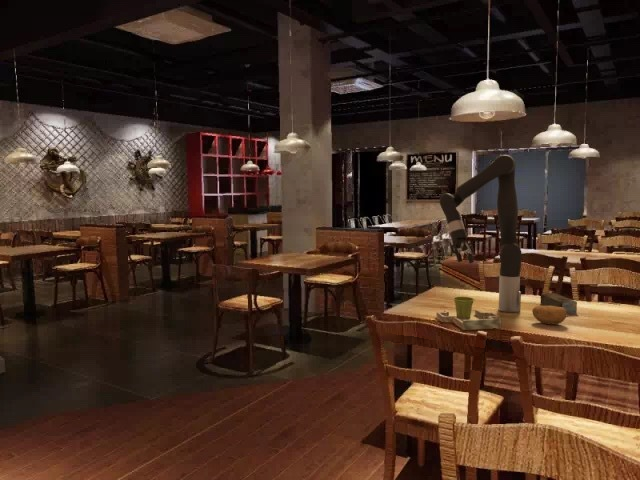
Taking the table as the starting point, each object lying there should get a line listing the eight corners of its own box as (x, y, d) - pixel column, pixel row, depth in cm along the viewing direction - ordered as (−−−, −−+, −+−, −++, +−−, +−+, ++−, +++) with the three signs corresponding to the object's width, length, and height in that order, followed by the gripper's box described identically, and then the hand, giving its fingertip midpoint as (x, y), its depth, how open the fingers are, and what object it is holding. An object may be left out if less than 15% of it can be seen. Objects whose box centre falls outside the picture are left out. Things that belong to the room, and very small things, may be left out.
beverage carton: (561, 314, 241) (562, 300, 240) (539, 305, 260) (539, 292, 259) (577, 314, 242) (577, 300, 241) (553, 304, 261) (554, 292, 260)
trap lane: (486, 314, 242) (486, 305, 241) (510, 327, 219) (510, 318, 218) (434, 316, 239) (434, 307, 238) (453, 330, 216) (453, 321, 215)
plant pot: (454, 319, 233) (454, 300, 232) (451, 314, 242) (452, 296, 241) (475, 319, 232) (475, 301, 231) (472, 314, 241) (472, 296, 240)
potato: (533, 319, 232) (533, 302, 231) (567, 323, 225) (567, 305, 225) (530, 324, 224) (530, 306, 223) (565, 328, 217) (566, 310, 216)
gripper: (453, 226, 243) (462, 258, 237) (472, 229, 251) (481, 260, 246) (442, 233, 248) (450, 264, 243) (460, 235, 257) (469, 265, 251)
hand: (466, 262), depth 244 cm, fingers open, 8 cm apart
